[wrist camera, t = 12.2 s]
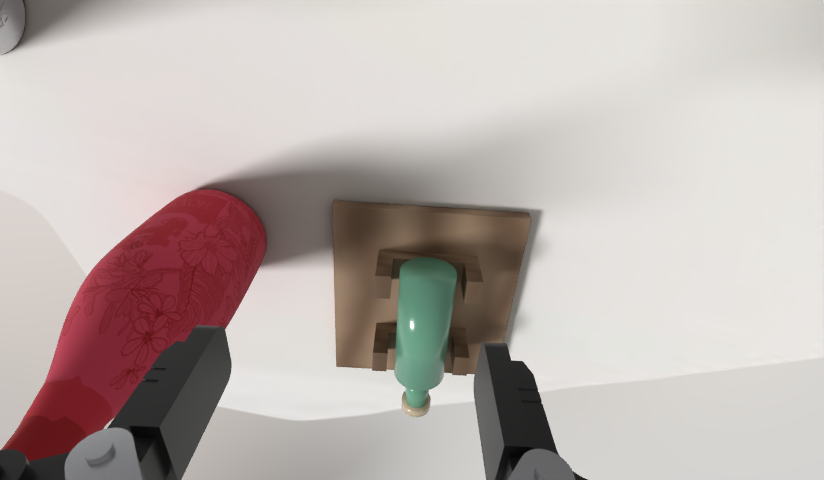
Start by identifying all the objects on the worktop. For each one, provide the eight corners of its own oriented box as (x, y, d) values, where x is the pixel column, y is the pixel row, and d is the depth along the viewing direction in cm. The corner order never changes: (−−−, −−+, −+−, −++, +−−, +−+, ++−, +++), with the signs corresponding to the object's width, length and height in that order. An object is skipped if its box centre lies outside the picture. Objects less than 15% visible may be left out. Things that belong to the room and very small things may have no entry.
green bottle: (400, 255, 39) (399, 288, 35) (454, 258, 40) (460, 290, 35) (392, 385, 48) (391, 424, 44) (437, 387, 48) (440, 426, 44)
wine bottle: (250, 174, 38) (-97, 557, 12) (285, 265, 43) (89, 678, 17) (148, 192, 39) (-375, 582, 13) (194, 279, 44) (-125, 691, 18)
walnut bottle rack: (338, 358, 49) (329, 397, 45) (334, 200, 40) (323, 228, 35) (493, 367, 50) (501, 406, 45) (528, 213, 40) (543, 242, 35)
